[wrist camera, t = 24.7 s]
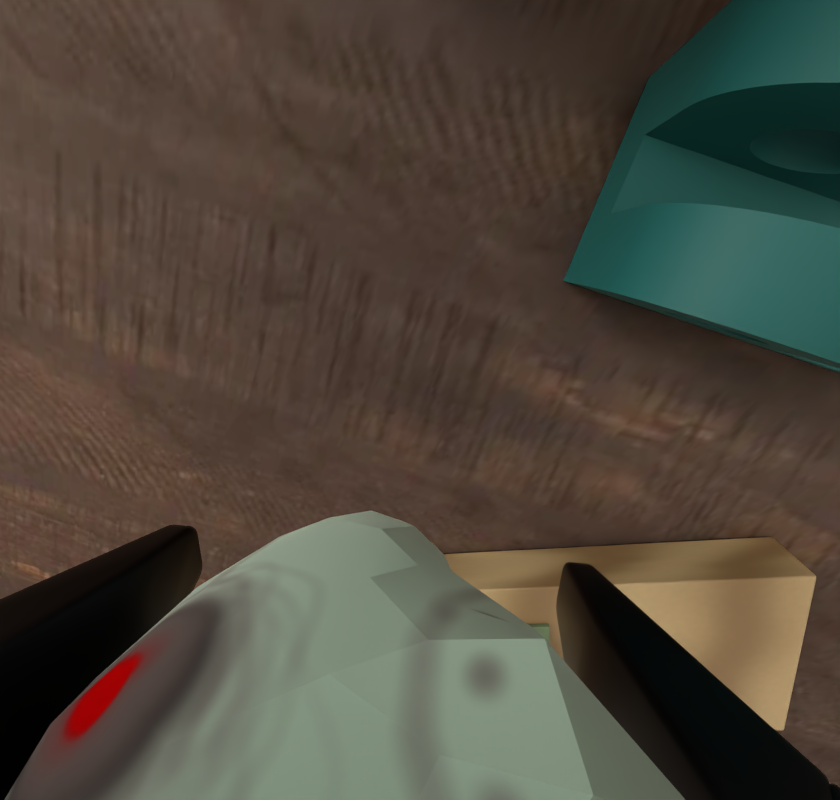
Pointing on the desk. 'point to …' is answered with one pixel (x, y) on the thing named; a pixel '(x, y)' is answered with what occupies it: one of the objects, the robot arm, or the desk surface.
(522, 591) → the rectangular slab
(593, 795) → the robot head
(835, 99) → the bracket
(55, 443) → the desk surface
